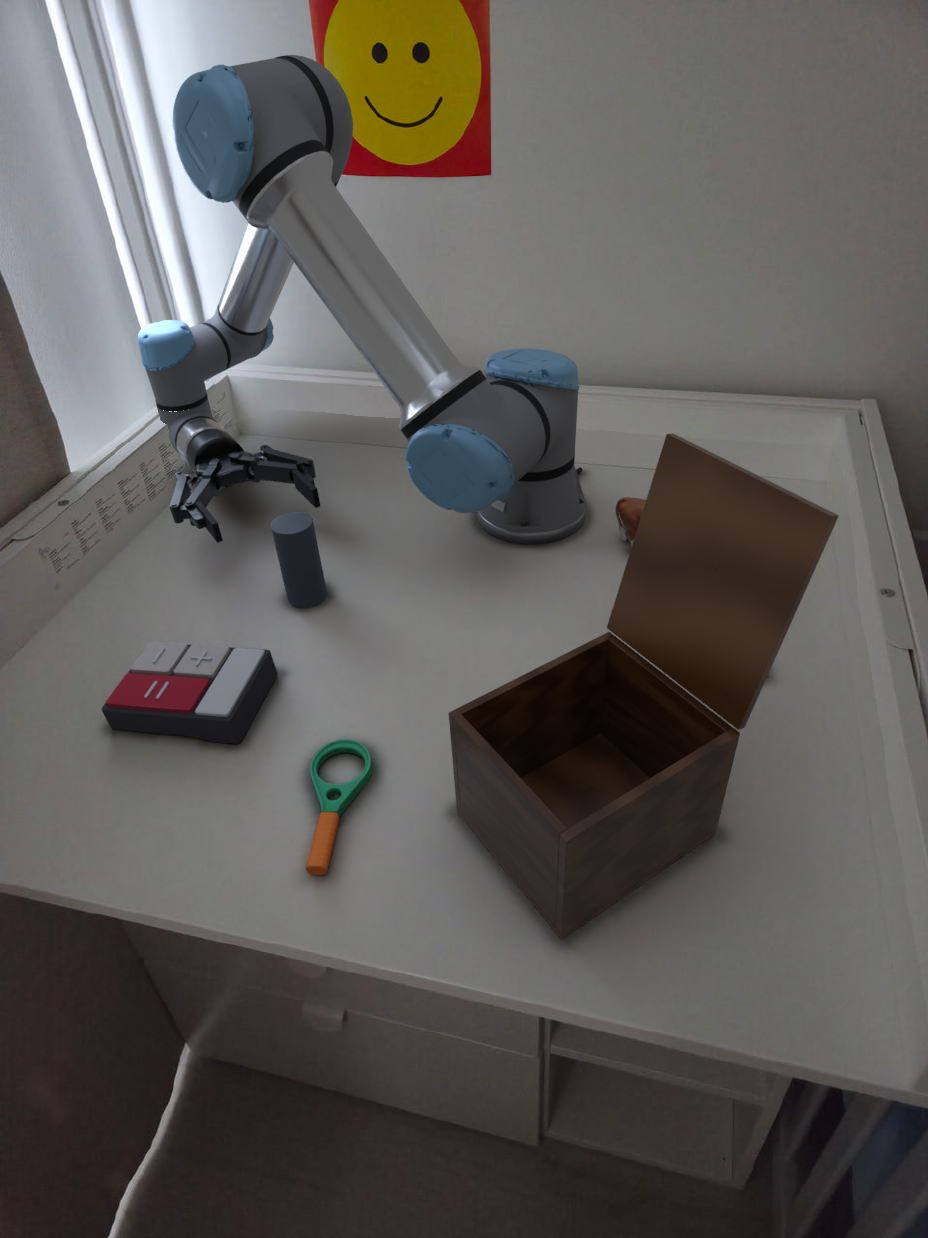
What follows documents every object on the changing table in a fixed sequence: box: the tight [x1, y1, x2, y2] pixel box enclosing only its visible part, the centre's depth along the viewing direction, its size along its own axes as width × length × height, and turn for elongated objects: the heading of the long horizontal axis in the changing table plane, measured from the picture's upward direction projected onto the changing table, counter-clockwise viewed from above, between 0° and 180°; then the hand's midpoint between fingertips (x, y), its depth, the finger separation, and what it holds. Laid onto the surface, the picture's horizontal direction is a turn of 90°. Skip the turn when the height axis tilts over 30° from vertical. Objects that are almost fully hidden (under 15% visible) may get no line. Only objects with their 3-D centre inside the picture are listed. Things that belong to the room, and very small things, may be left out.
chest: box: [448, 631, 741, 940], centre depth 70 cm, size 18×16×13 cm
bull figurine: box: [615, 496, 646, 548], centre depth 104 cm, size 4×13×8 cm, turn 58°
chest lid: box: [606, 432, 840, 731], centre depth 64 cm, size 18×16×1 cm
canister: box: [270, 511, 328, 609], centre depth 100 cm, size 5×5×11 cm
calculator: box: [101, 641, 278, 745], centre depth 88 cm, size 11×4×15 cm
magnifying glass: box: [305, 738, 374, 876], centre depth 76 cm, size 15×6×2 cm, turn 176°
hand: (268, 515), depth 104 cm, fingers open, 13 cm apart
